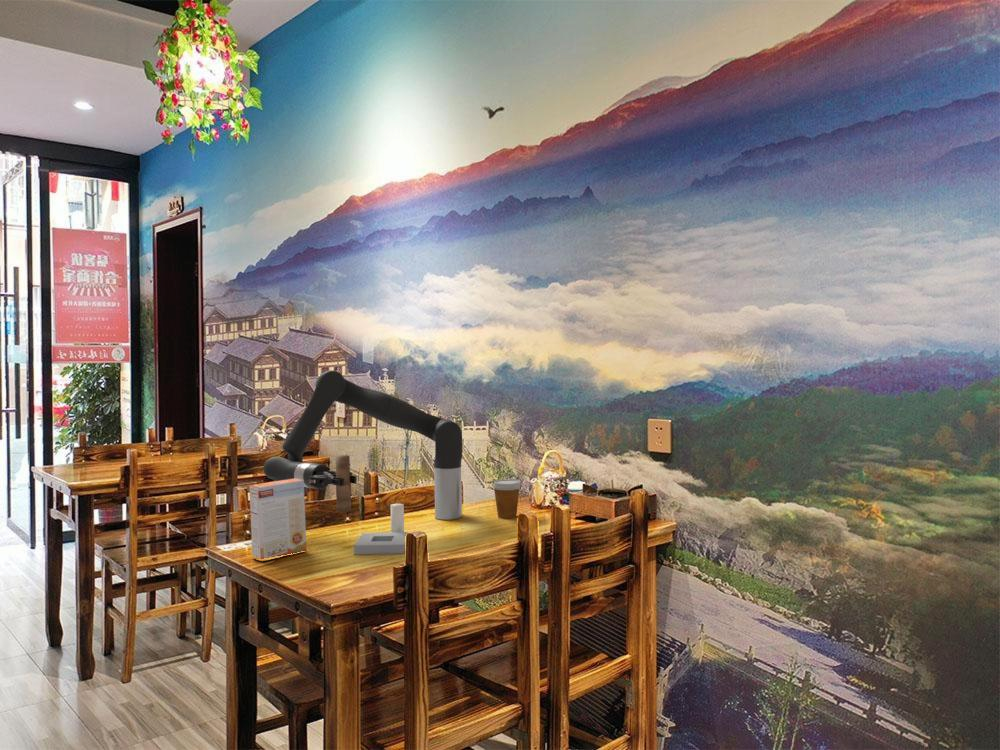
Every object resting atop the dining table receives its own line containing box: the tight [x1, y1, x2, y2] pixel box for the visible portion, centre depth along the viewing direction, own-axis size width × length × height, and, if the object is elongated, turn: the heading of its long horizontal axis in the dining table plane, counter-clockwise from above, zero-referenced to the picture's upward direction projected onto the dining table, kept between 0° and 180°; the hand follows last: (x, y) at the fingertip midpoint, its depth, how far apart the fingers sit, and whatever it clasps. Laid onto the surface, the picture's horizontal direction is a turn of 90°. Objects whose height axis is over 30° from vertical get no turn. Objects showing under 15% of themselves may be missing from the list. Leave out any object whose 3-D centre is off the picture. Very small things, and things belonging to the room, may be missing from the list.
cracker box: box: [249, 478, 307, 559], centre depth 206 cm, size 14×6×21 cm, turn 134°
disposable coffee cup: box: [492, 479, 521, 520], centre depth 250 cm, size 10×10×12 cm
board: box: [353, 531, 408, 555], centre depth 214 cm, size 14×14×2 cm
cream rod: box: [390, 503, 405, 533], centre depth 225 cm, size 4×4×10 cm
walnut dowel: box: [335, 454, 352, 513], centre depth 214 cm, size 4×4×16 cm
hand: (349, 480), depth 212 cm, fingers closed on walnut dowel, 4 cm apart
